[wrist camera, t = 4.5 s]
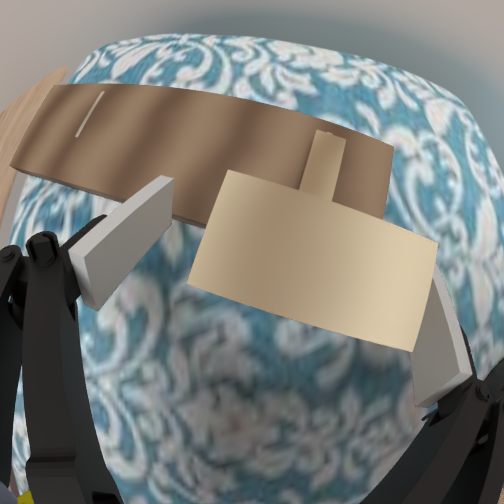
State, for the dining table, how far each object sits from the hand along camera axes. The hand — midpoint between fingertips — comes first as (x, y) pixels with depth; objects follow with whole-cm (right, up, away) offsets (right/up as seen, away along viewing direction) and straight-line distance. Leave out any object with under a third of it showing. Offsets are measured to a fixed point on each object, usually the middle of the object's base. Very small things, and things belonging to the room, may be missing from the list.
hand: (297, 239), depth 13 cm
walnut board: (-9, +8, +7) cm, 14 cm away
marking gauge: (+1, +1, +6) cm, 6 cm away
